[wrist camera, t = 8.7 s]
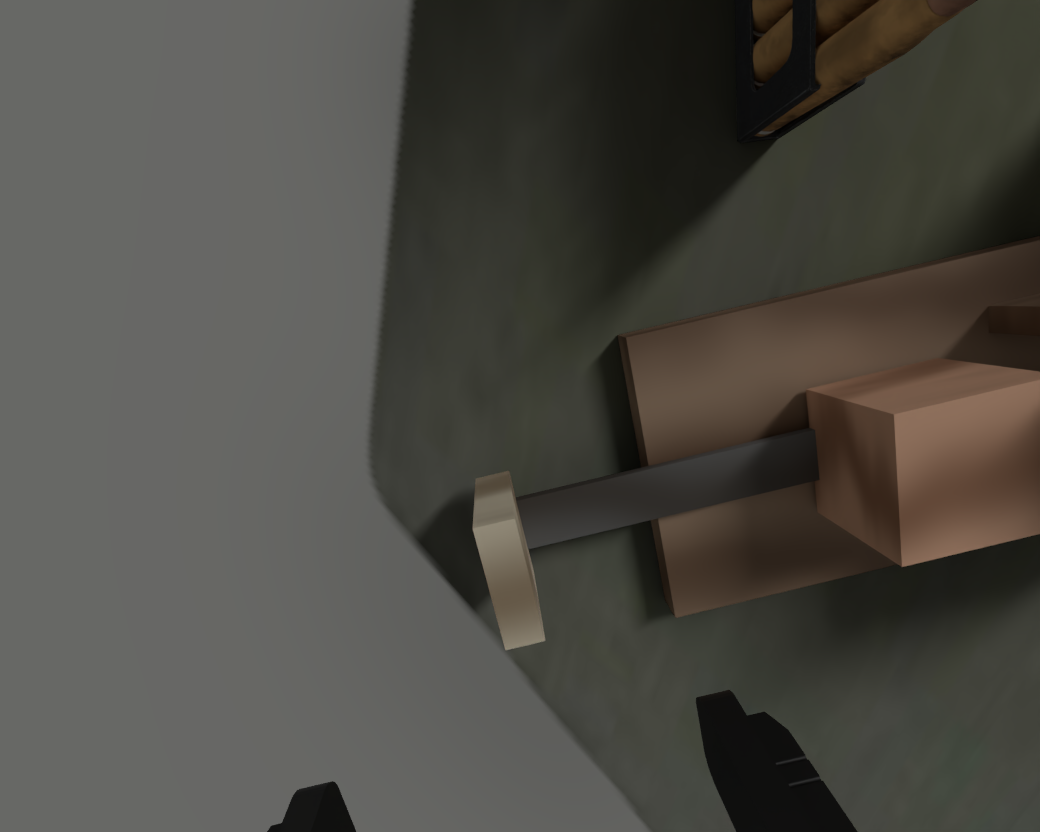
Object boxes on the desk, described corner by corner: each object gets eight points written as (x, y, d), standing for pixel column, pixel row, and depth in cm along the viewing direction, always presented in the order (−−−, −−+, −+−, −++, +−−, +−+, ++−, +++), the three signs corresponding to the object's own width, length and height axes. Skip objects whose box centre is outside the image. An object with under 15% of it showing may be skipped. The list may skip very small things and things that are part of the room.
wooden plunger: (472, 468, 22) (468, 515, 17) (937, 358, 22) (1061, 374, 18) (504, 586, 24) (508, 661, 19) (941, 482, 24) (1057, 529, 19)
